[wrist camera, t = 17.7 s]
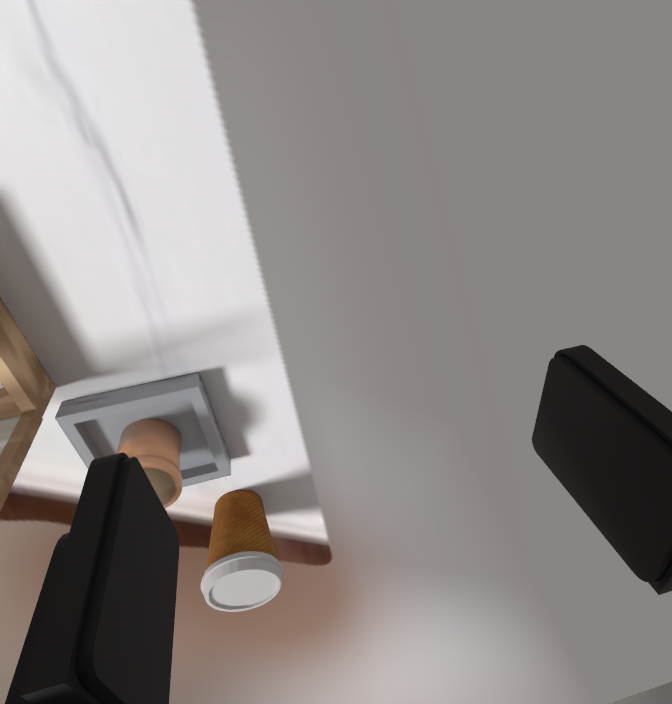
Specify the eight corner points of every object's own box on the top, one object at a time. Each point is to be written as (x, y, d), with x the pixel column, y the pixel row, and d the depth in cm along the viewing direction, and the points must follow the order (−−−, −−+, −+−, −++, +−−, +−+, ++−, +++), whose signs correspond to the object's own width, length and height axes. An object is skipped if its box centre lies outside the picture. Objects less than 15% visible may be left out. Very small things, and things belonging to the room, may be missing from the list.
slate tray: (61, 401, 45) (54, 418, 43) (199, 372, 47) (198, 386, 45) (115, 487, 53) (111, 504, 51) (230, 459, 55) (231, 474, 53)
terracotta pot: (105, 424, 47) (90, 475, 41) (173, 408, 48) (168, 456, 42) (130, 469, 51) (120, 521, 45) (193, 453, 52) (191, 502, 46)
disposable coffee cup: (187, 514, 59) (182, 604, 49) (233, 471, 57) (237, 558, 47) (243, 534, 64) (249, 620, 54) (287, 496, 62) (301, 579, 52)
